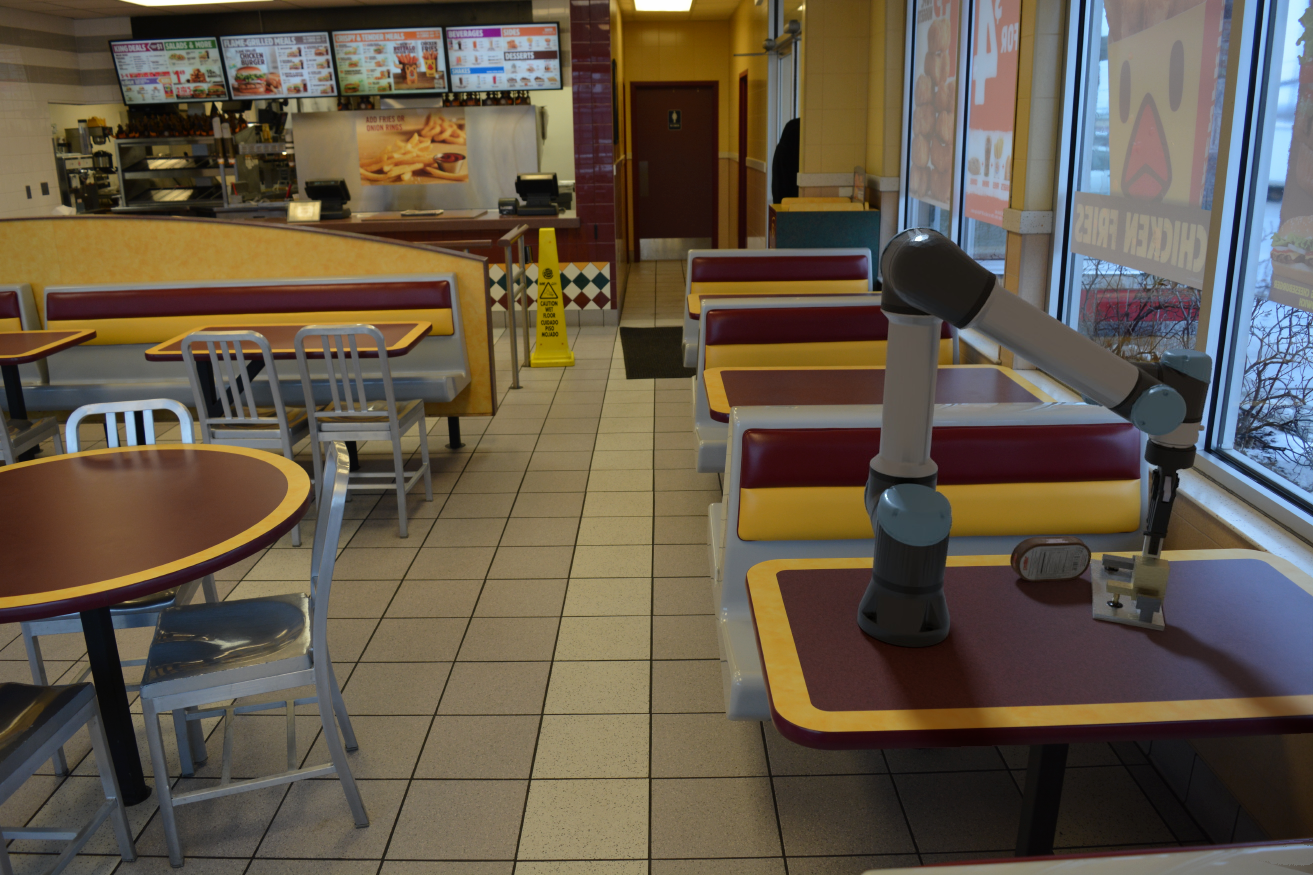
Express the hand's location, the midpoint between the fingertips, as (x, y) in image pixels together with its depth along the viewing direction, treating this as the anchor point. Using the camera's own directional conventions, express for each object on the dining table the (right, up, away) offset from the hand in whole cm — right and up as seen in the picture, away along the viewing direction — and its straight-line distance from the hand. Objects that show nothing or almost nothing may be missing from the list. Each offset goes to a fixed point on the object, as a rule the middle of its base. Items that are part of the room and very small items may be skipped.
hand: (1148, 568), depth 169 cm
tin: (-13, -4, +11) cm, 18 cm away
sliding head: (-4, -6, -2) cm, 8 cm away
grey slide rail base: (-1, -5, +5) cm, 7 cm away
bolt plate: (-2, -6, +6) cm, 8 cm away
